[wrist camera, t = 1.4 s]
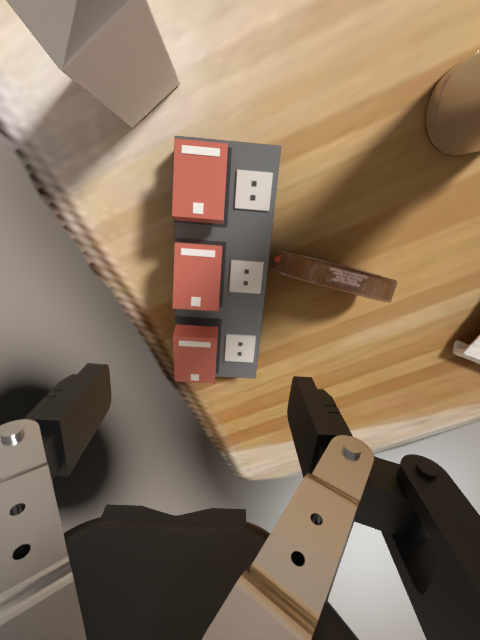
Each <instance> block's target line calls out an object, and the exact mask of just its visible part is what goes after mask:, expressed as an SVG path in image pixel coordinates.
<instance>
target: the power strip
mask: <svg viewBox="0 0 480 640" xmlns="http://www.w3.org/2000/svg"><path fill="white" fill-rule="evenodd" d="M175 139H186V140H197V141H207V142H218V143H228V157H227V174H226V191H225V208H224V224H215V223H203V222H190V221H177V220H175V242H177V243H191V244H204V245H217V246H222V265H221V282H220V299H219V311H207V310H191V309H175V326H176V324H178V325H194V326H211V327H218V336H217V356H216V374H215V376H218V377H238V378H256V370H257V361H258V352H259V343H260V334H261V325H262V316H263V307H264V298H265V289H266V280H267V271H268V262H269V253H270V244H271V235H272V226H273V217H274V208H275V199H276V190H277V181H278V172H279V163H280V154H281V146H278V145H267V144H257V143H246V142H236V141H225V140H215V139H204V138H194V137H183V136H175Z"/></svg>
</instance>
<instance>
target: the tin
mask: <svg viewBox="0 0 480 640" xmlns="http://www.w3.org/2000/svg"><path fill="white" fill-rule="evenodd" d="M271 270H272V271H274V272H277V273H279V274H282V275H284V276H288V277H291V278H294V279H297V280H301V281H304V282H308V283H312V284H315V285H319V286H323V287H327V288H331V289H335V290H339V291H343V292H347V293H351V294H355V295H359V296H363V297H367V298H370V299H374V300H379V301H384V302H391V298H392V296H393V293H394V291H395V288H396V285H397V281H396V280H393V279H389V278H385V277H382V276H379V275H376V274H373V273H369V272H365V271H362V270H358V269H354V268H351V267H347V266H343V265H340V264H336V263H333V262H329V261H325V260H322V259H318V258H314V257H310V256H306V255H301V254H297V253H293V252H289V251H285V250H278V251H277V252H276V255H275V258H274V262H273V265H272V267H271Z"/></svg>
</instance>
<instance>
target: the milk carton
mask: <svg viewBox="0 0 480 640" xmlns="http://www.w3.org/2000/svg"><path fill="white" fill-rule="evenodd" d="M6 1H7V2H8V3H9V5H10V6H11V7H12V8H13V10H14V11H15V12H16V14H17V15H18V16H19V18H20V19H21V20H22V21H23V23H24V24H25V25H26V27H27V28H28V29H29V30H30V32H31V33H32V34H33V36H34V37H35V38H36V39H37V41H38V42H39V43H40V45H41V46H42V47H43V48H44V50H45V51H46V52H47V54H48V55H49V56H50V57H51V59H52V60H53V61H54V63H55V64H56V65H57V66H58V68H59V69H60V70H61V71H63V72H64V73H65V74H66V75H67V76H69V77H70V78H71V79H72V80H74V81H75V82H76V83H77V84H79V85H80V86H81V87H82V88H83V89H85V90H86V91H87V92H88V93H90V94H91V95H92V96H93V97H95V98H96V99H97V100H98V101H99V102H101V103H102V104H103V105H104V106H106V107H107V108H108V109H109V110H111V111H112V112H113V113H114V114H115V115H117V116H118V117H119V118H120V119H122V120H123V121H124V122H125V123H127V124H128V125H129V126H130V127H132V128H133V127H134V126H135V125H136V124H137V123H138V122H139V121H140V120H141V119H142V118H143V117H145V116H146V115H147V114H148V113H149V112H150V111H151V110H152V109H153V108H154V107H155V106H156V105H157V104H158V103H160V102H161V101H162V100H163V99H164V98H165V97H166V96H167V95H168V94H169V93H170V92H171V91H172V90H173V89H175V88H176V87H177V86H178V85H179V84H180V81H179V79H178V76H177V74H176V71H175V69H174V66H173V64H172V61H171V59H170V56H169V54H168V51H167V49H166V46H165V44H164V42H163V39H162V37H161V34H160V32H159V29H158V27H157V24H156V22H155V19H154V17H153V14H152V12H151V9H150V7H149V4H148V2H147V0H6Z"/></svg>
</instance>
